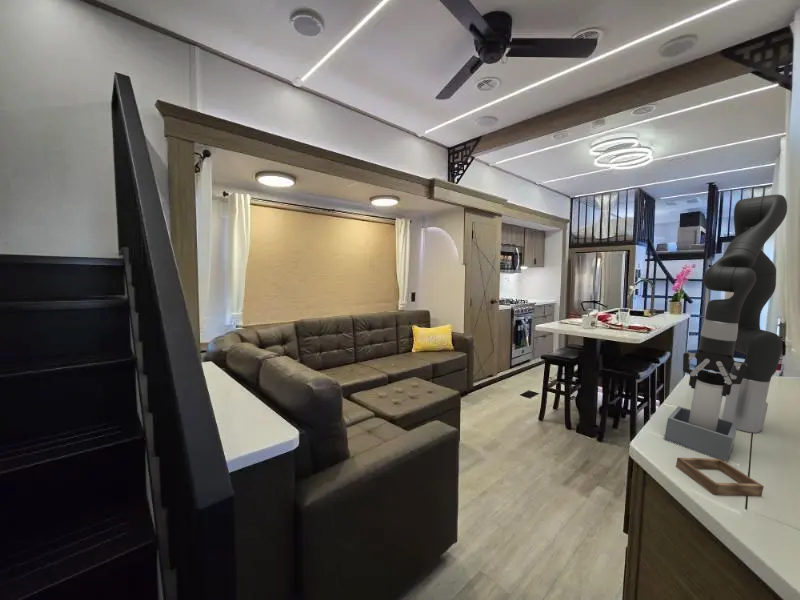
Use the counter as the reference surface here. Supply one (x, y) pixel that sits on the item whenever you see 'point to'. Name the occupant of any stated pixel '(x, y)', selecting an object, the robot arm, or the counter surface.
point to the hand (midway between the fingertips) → (708, 391)
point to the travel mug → (707, 400)
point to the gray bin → (701, 435)
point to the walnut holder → (744, 484)
